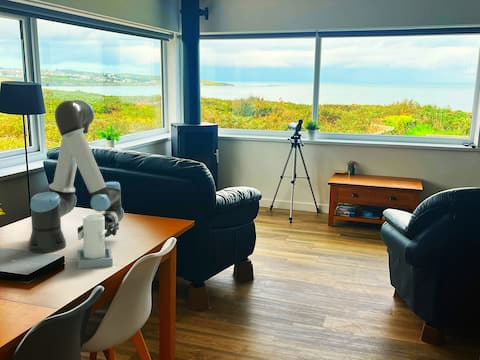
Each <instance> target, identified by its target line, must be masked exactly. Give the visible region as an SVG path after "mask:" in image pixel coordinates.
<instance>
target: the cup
mask: <svg viewBox="0 0 480 360" xmlns="http://www.w3.org/2000/svg"><path fill="white" fill-rule="evenodd" d="M82 225H83V250H84V257H86V258H90V259H95V258H101V257H103V256H105V248H106V238H105V239H104V240H103V241H101V233H103V232H104V231H105V218H104V216H103V215H102V214H96V213H95V214H93V213H92V214H87V215H84V216H83V217H82Z"/></svg>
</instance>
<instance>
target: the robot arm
mask: <svg viewBox="0 0 480 360" xmlns="http://www.w3.org/2000/svg"><path fill="white" fill-rule="evenodd" d="M94 118H95V110H94V108H93V106H92V105H90V103H88V102H87V101H84V100H79V99H75V100H74V99H73V100H64V101H62V102H61V103H59V104H58V105H57V106H56V108H55V111H54V120H55V123H56V126H57V130H58V131H59V133H60V136H61V142H60V147H59V151H58V158H57V162H56V168H55V172H54V177H53V182H51V183H50V184H49V185H48V189H47V191H45V192H38V193H36V194H34V195H33V196H32V197H31V198H30V213H31V214H30V216H31V234H30V237H29V240H28V243H27V244H28V250H29V251H30V250H31V252H33V251H37V252H36V253H50V252H56V251H60V250H62V249H65V248H66V246H67V245H66V244H67V242H66V238H65V236H64V233H63V230H62V226H61V225H62V221H61V218H62V217H64V216H66V215H67V214H69V213H71V212H72V211H73V209H75V207H76V205H77V195H75V194H76V188H75V186H74V182H75V179H76V178H75V177H76V173H77V169H78V170H79V172H80V175H81V177H82V179H83V183H84V184H85V186H86V188H87V190H88V193H89V195H90V197H91V199H90V207H91V208H92V209H93V210H94V211H95V212H99V213H100V212H104V213H102V214H101V215H103V216H104V218H105V231H104V232H103V233H101V241H103V240H104V239H105V240H106V238H108V237H110V236H116V235H117V231H118V230H119V229H120V223H119V222H121V221H122V220H123V218H124V215H125V212H124V211H125V210H124V209H123V208H122V195H121V193H122V190H121V184H120V182H118V181H106V182H105V180H104V178H103V175H102V173H101V171H100V168H99V166H98V163H97V162H96V159H95V157H94V154H93V153H92V149H91V148H90V145H89V143H88V141H87V138H86V135H87V134H88V132H89V129H90V125H91V124H92V122H93V121H94ZM77 239H78V241H81V240H82V239H84V237H83V224H82V225H81V226H78V227H77Z"/></svg>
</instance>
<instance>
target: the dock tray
mask: <svg viewBox="0 0 480 360" xmlns="http://www.w3.org/2000/svg"><path fill="white" fill-rule="evenodd" d="M113 264H114V263H113V255H112V250H111V248H110V247H105V256H103V257H101V258H95V259H90V258H86V257H84V249H80V250H77V269H90V268H101V267H113Z"/></svg>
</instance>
